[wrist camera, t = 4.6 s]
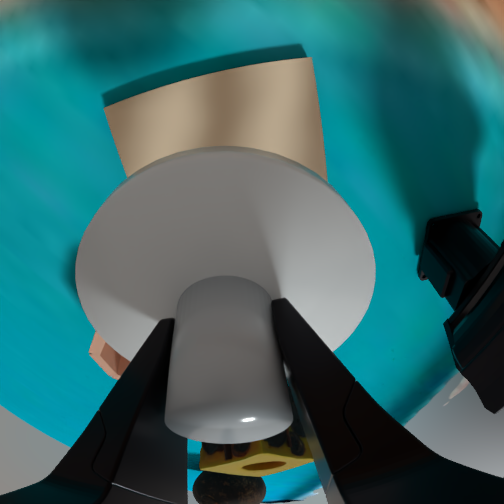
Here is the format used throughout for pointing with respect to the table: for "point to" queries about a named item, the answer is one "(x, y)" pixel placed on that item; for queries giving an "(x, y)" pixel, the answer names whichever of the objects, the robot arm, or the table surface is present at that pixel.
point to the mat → (225, 115)
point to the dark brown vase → (228, 489)
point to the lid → (224, 279)
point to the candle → (260, 452)
